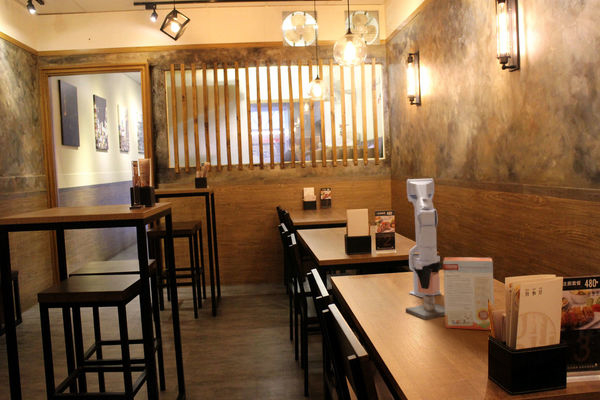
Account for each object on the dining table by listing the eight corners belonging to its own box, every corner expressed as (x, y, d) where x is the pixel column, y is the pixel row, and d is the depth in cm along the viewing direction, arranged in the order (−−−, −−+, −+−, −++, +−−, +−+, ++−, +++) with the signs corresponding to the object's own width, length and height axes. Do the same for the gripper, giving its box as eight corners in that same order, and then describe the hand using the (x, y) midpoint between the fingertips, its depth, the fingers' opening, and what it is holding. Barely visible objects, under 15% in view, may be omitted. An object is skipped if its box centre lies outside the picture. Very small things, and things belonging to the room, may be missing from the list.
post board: (433, 306, 168) (433, 290, 167) (453, 313, 158) (453, 296, 158) (405, 311, 163) (405, 295, 162) (424, 319, 153) (424, 302, 153)
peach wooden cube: (424, 288, 164) (424, 271, 163) (439, 290, 160) (439, 272, 160) (418, 292, 160) (417, 274, 159) (432, 294, 156) (432, 276, 156)
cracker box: (493, 324, 146) (492, 256, 145) (494, 331, 140) (493, 260, 139) (445, 321, 151) (443, 256, 149) (444, 328, 145) (443, 259, 144)
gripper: (425, 242, 167) (426, 280, 168) (406, 248, 156) (407, 289, 157) (445, 243, 163) (446, 282, 163) (426, 250, 151) (427, 292, 152)
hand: (428, 286), depth 160 cm, fingers closed on peach wooden cube, 5 cm apart
